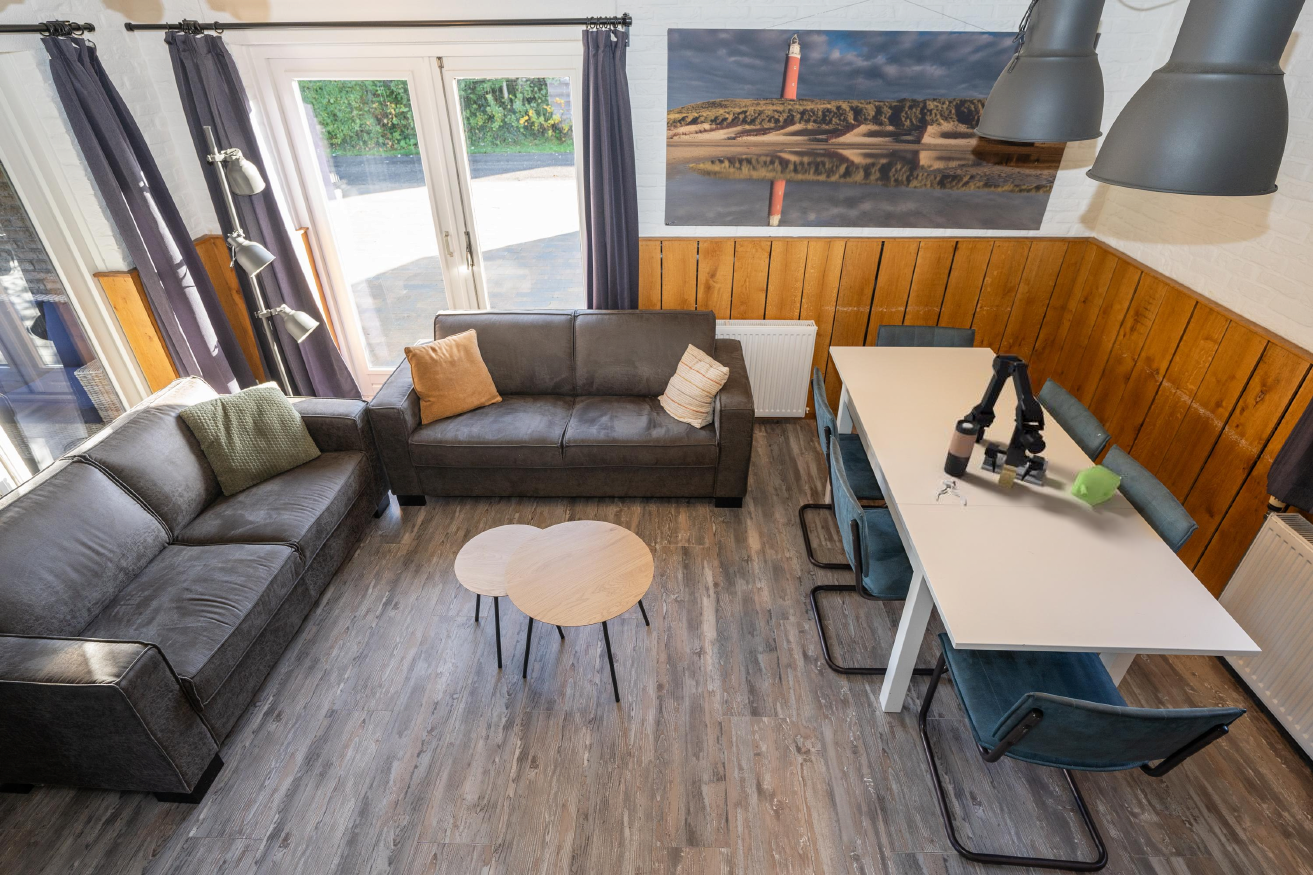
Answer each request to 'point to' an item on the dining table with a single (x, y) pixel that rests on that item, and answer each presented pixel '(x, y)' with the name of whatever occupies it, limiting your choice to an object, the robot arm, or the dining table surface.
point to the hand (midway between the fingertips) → (1007, 476)
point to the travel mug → (961, 447)
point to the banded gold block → (1007, 476)
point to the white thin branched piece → (950, 484)
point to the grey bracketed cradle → (1032, 477)
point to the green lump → (1095, 484)
